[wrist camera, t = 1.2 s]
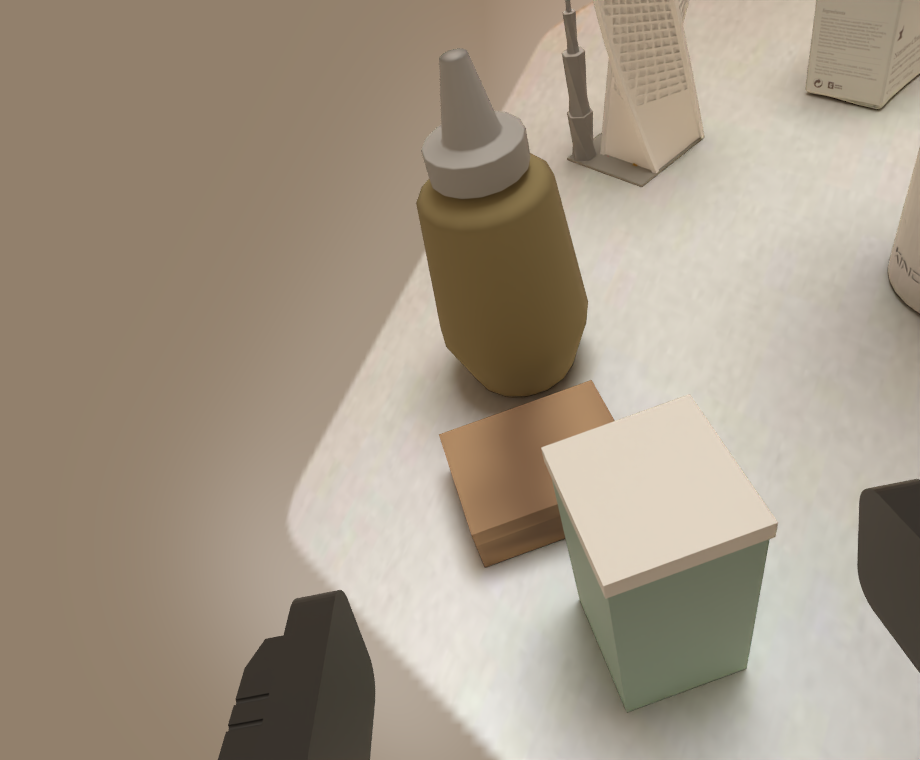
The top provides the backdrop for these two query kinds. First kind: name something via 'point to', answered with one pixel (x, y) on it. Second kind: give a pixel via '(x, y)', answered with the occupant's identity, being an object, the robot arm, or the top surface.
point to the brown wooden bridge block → (517, 470)
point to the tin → (662, 547)
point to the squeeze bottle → (497, 243)
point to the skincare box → (864, 49)
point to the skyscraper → (635, 90)
